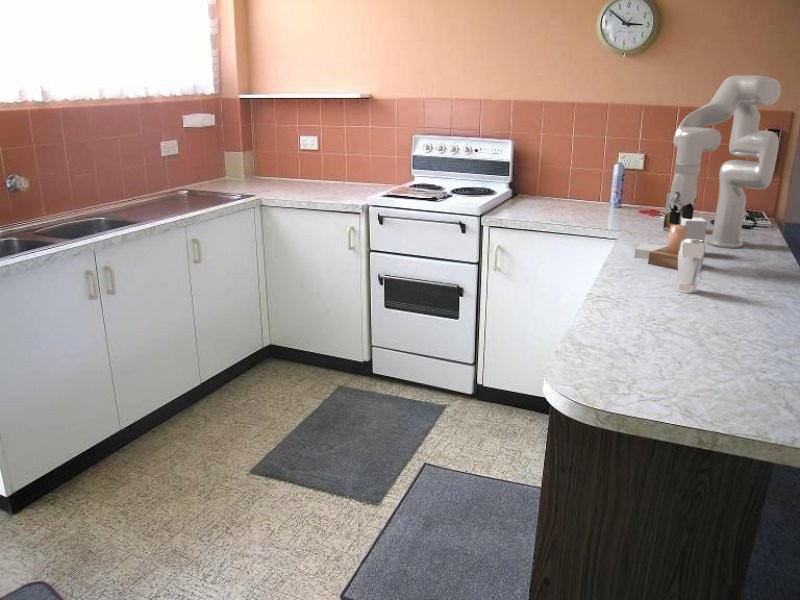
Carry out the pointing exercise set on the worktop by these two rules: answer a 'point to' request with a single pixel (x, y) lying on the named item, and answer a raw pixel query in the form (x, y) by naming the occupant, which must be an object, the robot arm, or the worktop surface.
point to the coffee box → (667, 214)
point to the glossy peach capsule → (676, 238)
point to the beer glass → (689, 264)
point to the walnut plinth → (663, 259)
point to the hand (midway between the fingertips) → (680, 221)
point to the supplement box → (695, 228)
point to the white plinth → (646, 250)
